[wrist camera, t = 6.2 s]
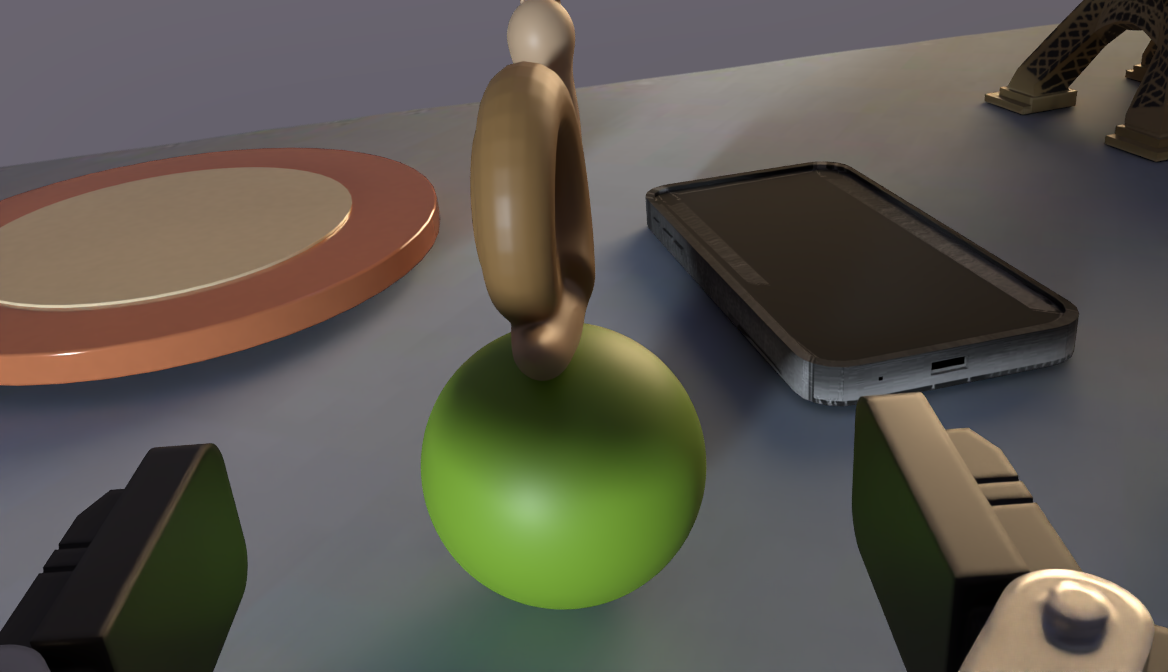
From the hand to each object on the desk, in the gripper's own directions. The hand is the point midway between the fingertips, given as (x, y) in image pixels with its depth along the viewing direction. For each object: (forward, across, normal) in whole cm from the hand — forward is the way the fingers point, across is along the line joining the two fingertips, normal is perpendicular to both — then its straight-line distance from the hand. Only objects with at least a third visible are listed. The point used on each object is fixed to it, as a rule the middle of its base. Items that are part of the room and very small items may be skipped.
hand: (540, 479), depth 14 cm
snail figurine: (+7, 0, +7) cm, 9 cm away
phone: (+20, -8, +6) cm, 22 cm away
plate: (+25, +14, +6) cm, 29 cm away
